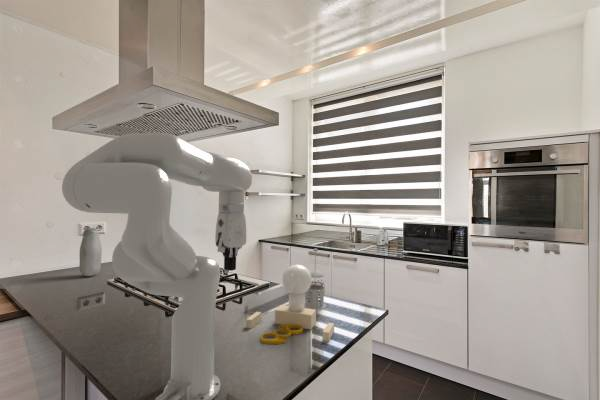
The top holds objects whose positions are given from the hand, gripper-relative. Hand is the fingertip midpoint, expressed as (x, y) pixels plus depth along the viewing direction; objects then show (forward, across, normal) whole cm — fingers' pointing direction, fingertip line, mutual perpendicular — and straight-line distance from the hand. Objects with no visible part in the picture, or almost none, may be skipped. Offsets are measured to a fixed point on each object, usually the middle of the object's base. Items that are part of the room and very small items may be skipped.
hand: (229, 269), depth 91 cm
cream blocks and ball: (+24, +25, -11) cm, 36 cm away
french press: (+24, +46, -11) cm, 53 cm away
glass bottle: (+24, +36, +125) cm, 132 cm away
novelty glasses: (+24, +16, -10) cm, 31 cm away
